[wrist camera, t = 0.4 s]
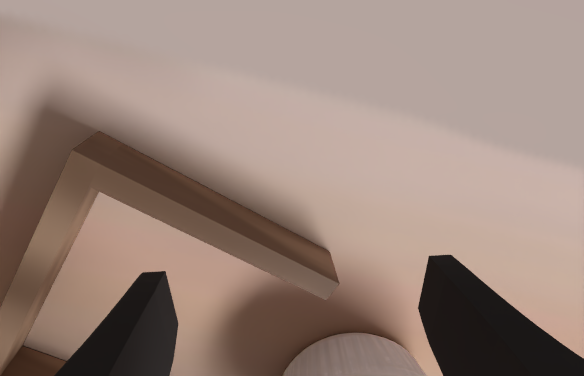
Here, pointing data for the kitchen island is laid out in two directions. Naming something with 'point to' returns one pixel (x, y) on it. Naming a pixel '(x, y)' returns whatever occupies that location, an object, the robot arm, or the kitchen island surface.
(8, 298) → the dock
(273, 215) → the kitchen island surface
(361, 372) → the ramekin
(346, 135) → the kitchen island surface
